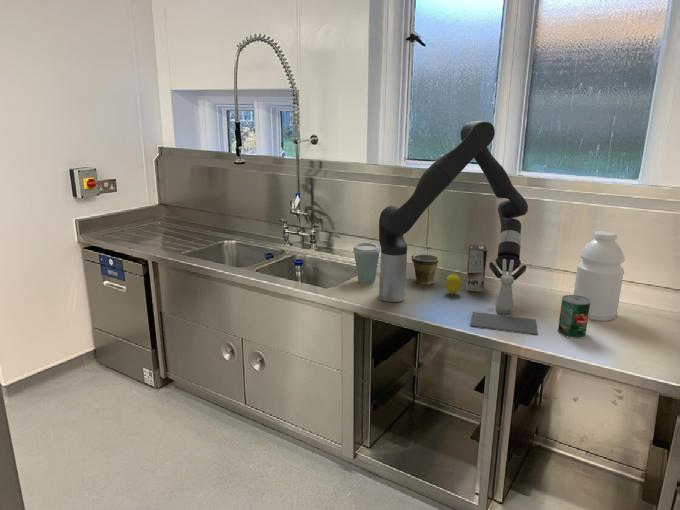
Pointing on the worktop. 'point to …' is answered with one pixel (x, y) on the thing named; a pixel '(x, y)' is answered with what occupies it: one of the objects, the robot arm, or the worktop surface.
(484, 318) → the mat
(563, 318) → the canned tomato
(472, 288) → the coffee box
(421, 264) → the ceramic cup
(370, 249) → the disposable coffee cup
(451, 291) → the lemon
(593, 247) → the bottle
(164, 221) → the worktop surface
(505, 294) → the salt shaker
